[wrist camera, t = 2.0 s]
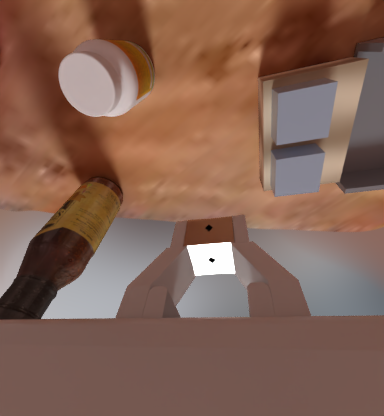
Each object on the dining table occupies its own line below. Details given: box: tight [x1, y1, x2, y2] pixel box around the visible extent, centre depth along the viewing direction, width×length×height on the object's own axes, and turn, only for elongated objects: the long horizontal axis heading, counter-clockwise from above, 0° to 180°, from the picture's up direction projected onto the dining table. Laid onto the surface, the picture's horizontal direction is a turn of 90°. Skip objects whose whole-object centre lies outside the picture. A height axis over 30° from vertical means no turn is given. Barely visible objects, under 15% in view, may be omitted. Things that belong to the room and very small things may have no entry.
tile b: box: [270, 143, 325, 197], centre depth 23 cm, size 4×4×2 cm
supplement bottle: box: [58, 39, 155, 117], centre depth 19 cm, size 5×5×10 cm
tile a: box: [271, 78, 338, 145], centre depth 19 cm, size 4×4×2 cm
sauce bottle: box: [0, 177, 123, 320], centre depth 25 cm, size 7×6×20 cm
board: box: [258, 57, 369, 191], centre depth 23 cm, size 12×8×3 cm
